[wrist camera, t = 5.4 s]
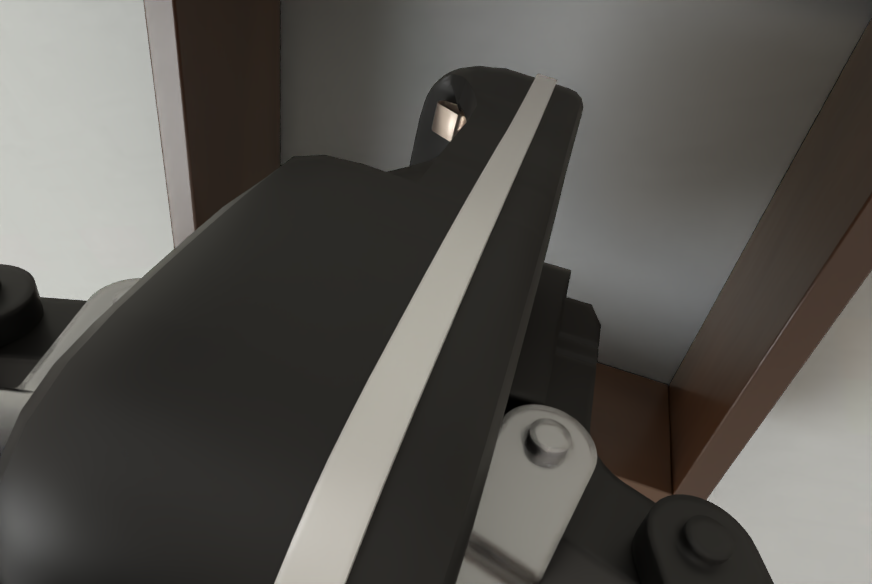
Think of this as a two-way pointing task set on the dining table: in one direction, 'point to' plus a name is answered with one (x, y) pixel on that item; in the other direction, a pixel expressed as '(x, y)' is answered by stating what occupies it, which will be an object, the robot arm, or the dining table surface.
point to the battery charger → (304, 368)
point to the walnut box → (614, 389)
